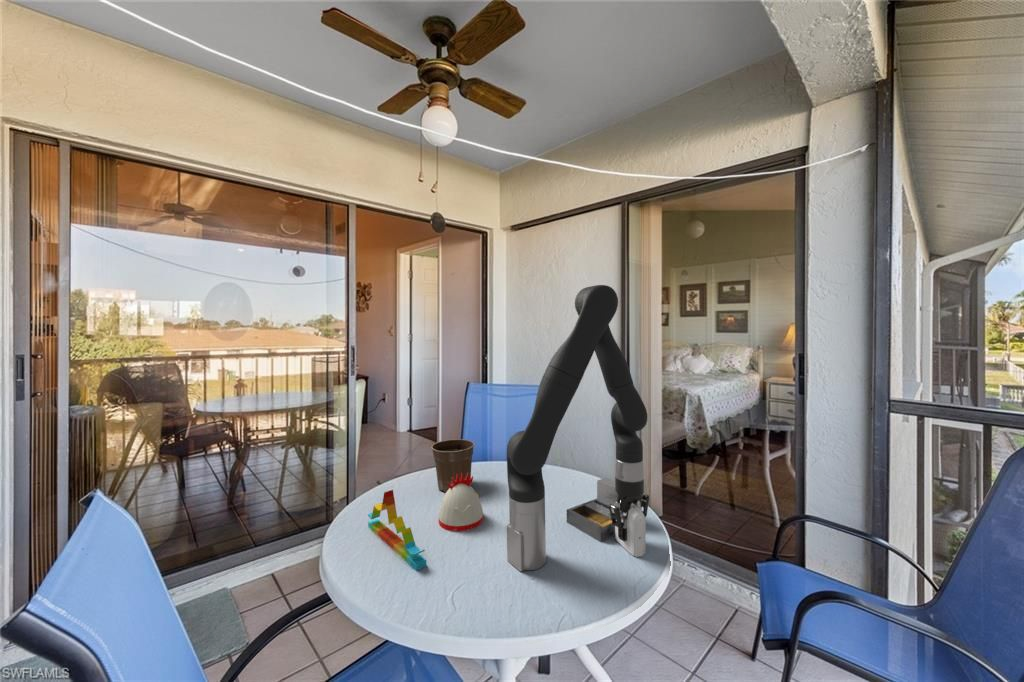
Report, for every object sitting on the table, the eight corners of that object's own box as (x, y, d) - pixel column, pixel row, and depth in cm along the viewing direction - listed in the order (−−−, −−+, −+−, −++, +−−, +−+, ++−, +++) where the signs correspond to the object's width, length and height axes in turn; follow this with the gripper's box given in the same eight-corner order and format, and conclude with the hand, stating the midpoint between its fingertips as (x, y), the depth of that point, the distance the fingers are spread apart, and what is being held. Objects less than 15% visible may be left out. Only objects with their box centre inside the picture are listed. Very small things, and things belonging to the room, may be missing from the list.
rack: (600, 542, 114) (600, 503, 114) (566, 522, 126) (566, 487, 126) (640, 524, 124) (639, 488, 124) (605, 507, 136) (604, 474, 135)
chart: (427, 566, 105) (425, 509, 104) (416, 572, 103) (414, 513, 102) (378, 524, 128) (376, 477, 127) (368, 527, 126) (366, 479, 125)
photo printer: (648, 555, 107) (647, 509, 107) (634, 558, 106) (633, 512, 106) (626, 536, 117) (625, 493, 117) (612, 538, 116) (612, 496, 115)
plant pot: (430, 481, 161) (429, 441, 160) (470, 476, 165) (469, 436, 165) (435, 498, 145) (433, 453, 144) (479, 492, 150) (478, 448, 149)
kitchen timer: (487, 527, 124) (486, 478, 124) (441, 534, 120) (440, 484, 120) (478, 507, 138) (477, 463, 137) (436, 513, 134) (435, 468, 133)
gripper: (622, 486, 104) (623, 551, 104) (657, 473, 112) (658, 534, 113) (600, 477, 110) (601, 539, 111) (635, 465, 118) (635, 523, 119)
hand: (629, 536), depth 112 cm, fingers closed on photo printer, 5 cm apart
